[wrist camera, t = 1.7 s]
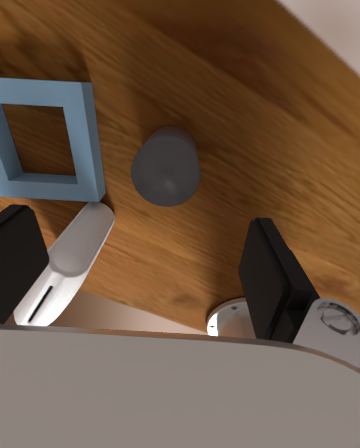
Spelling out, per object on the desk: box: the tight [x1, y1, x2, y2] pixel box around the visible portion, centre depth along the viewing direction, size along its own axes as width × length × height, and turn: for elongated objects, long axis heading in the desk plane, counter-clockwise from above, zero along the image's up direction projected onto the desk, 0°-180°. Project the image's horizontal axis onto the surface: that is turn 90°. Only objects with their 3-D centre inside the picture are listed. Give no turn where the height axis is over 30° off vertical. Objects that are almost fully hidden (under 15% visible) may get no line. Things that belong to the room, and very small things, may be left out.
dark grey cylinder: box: [131, 125, 200, 207], centre depth 21 cm, size 6×6×7 cm
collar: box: [0, 77, 106, 202], centre depth 23 cm, size 11×11×2 cm
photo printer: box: [14, 202, 116, 326], centre depth 25 cm, size 10×4×12 cm, turn 143°
